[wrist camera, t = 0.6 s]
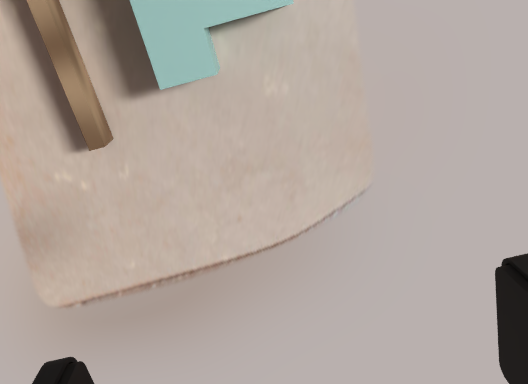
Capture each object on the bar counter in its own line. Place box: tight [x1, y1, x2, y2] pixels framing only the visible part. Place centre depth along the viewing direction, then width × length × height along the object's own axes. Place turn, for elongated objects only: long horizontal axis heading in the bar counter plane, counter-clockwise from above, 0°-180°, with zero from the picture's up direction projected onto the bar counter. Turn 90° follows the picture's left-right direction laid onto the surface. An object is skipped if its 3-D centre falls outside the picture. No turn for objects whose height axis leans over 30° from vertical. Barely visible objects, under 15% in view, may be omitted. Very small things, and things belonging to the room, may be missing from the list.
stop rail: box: [27, 0, 113, 151], centre depth 31 cm, size 16×1×2 cm, turn 15°
